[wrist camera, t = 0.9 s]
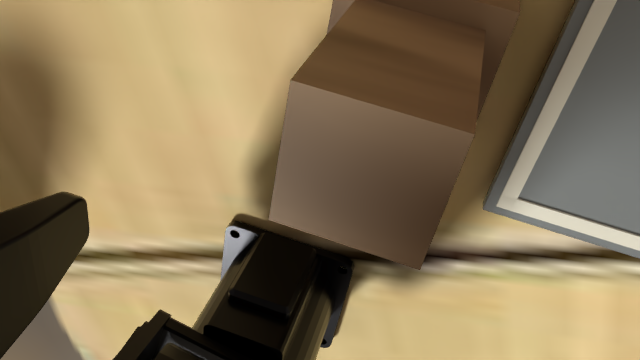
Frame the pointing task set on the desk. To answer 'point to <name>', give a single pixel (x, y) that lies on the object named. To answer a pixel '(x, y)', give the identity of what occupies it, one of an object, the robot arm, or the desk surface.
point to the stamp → (387, 120)
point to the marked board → (581, 134)
